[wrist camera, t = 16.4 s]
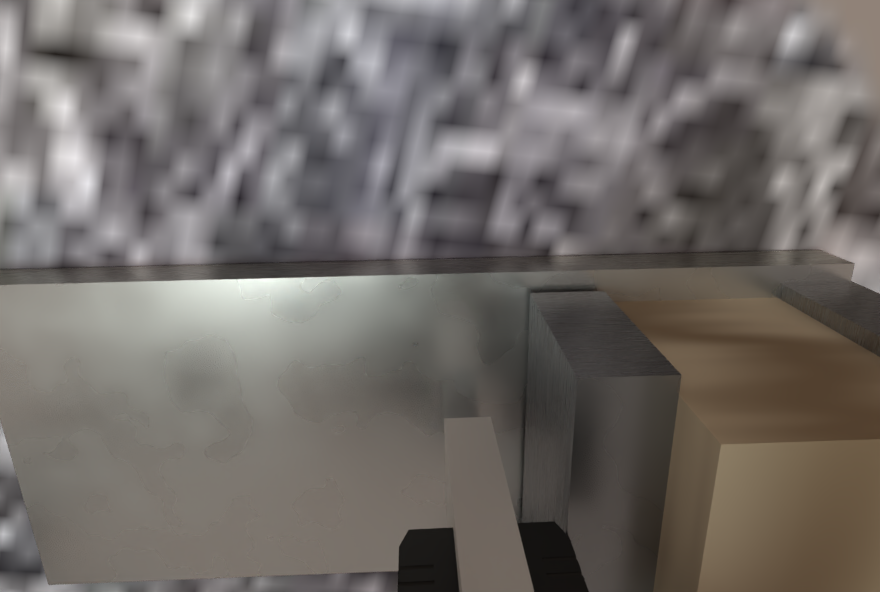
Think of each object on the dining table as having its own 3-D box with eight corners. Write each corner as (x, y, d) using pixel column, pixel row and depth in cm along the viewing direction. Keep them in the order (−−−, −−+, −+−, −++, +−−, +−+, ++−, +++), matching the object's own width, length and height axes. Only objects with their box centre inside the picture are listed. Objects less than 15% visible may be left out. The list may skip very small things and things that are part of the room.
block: (581, 536, 19) (668, 773, 13) (599, 302, 17) (720, 444, 10) (735, 531, 19) (900, 761, 13) (777, 297, 17) (1013, 434, 10)
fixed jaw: (732, 545, 19) (833, 691, 15) (780, 282, 17) (924, 360, 12) (792, 543, 20) (912, 687, 15) (850, 281, 17) (1023, 357, 12)
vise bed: (73, 550, 20) (48, 584, 19) (-2, 269, 17) (-39, 286, 16) (764, 524, 21) (789, 555, 20) (819, 249, 18) (854, 263, 16)
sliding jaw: (457, 614, 20) (470, 780, 15) (455, 294, 16) (471, 381, 11) (638, 606, 20) (708, 768, 15) (677, 289, 16) (784, 371, 11)
